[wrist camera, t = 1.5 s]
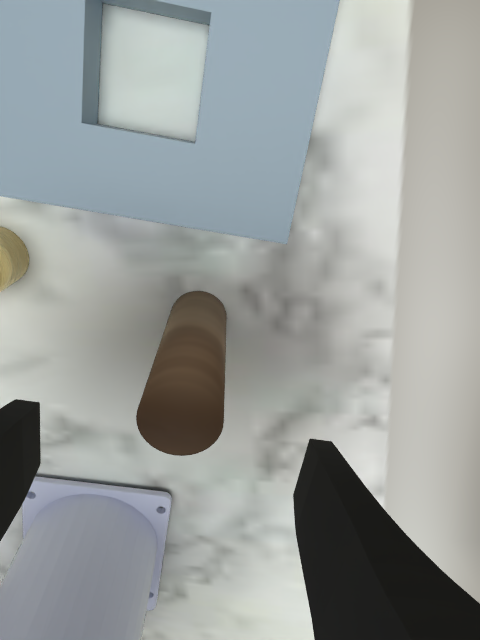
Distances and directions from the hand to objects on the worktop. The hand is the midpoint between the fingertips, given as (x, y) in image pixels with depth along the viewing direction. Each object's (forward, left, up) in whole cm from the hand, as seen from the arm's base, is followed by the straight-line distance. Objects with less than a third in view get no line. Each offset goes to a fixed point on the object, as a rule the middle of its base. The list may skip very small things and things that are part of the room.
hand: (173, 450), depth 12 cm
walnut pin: (0, 0, -10) cm, 10 cm away
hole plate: (+9, +3, -10) cm, 14 cm away
